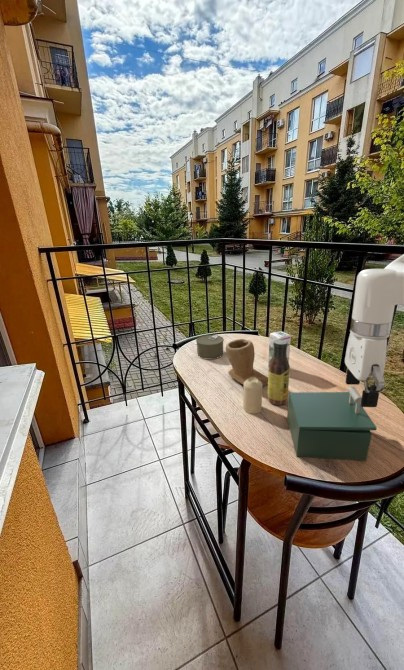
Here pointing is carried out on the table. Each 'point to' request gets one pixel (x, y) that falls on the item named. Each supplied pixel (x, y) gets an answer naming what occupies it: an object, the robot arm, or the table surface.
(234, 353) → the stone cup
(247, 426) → the table surface
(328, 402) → the lid
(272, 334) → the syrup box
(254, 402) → the candle
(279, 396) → the sauce bottle
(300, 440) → the chest
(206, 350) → the can
